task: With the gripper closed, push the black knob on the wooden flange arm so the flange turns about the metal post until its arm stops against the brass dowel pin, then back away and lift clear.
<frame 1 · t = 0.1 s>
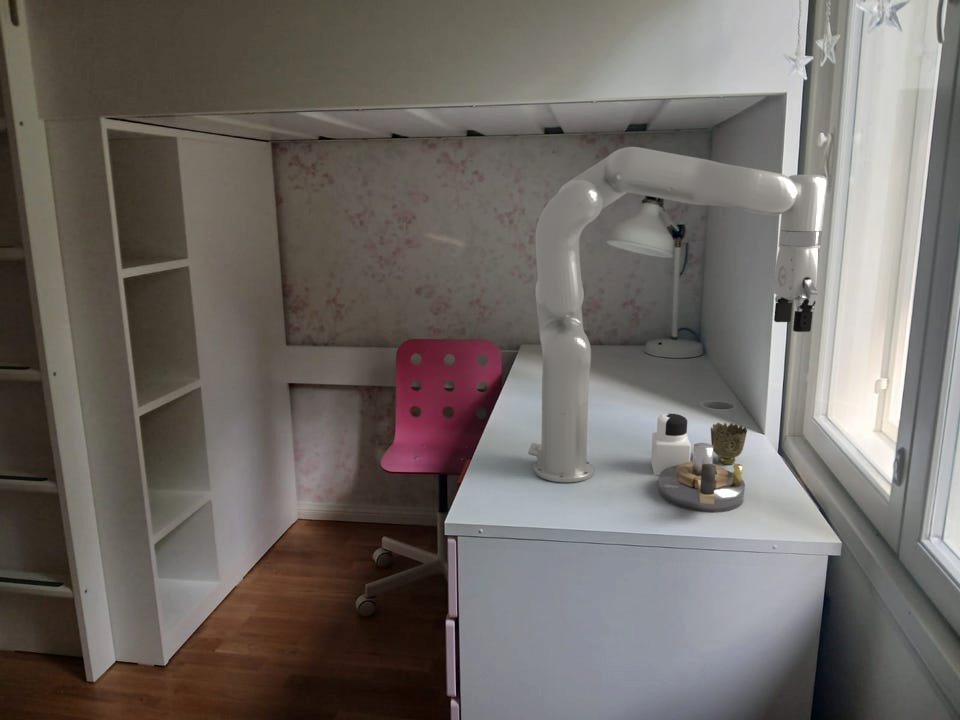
hand: (791, 326, 145), 31 cm above the table, tool pointing down, fingers open, 9 cm apart
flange: (704, 469, 137), point 7 cm above the table, hinge at 0.0°
post base: (700, 494, 142), on the table
cup: (725, 463, 158), on the table
medicine bottle: (669, 470, 154), on the table
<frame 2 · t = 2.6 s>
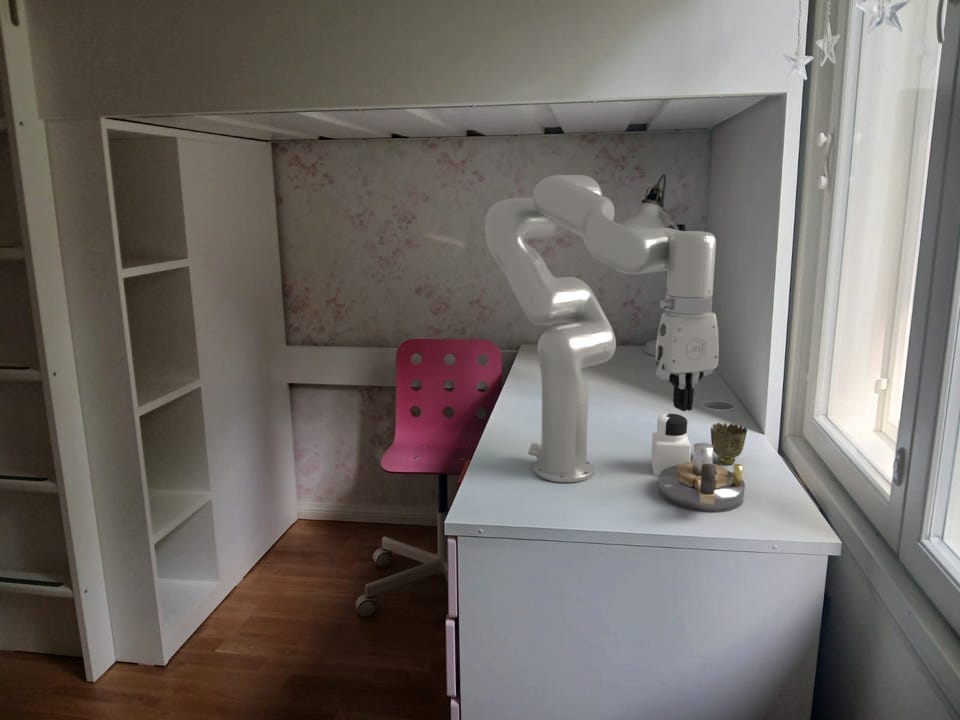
hand: (682, 408, 127), 21 cm above the table, tool pointing down, fingers closed
nothing on the table moved.
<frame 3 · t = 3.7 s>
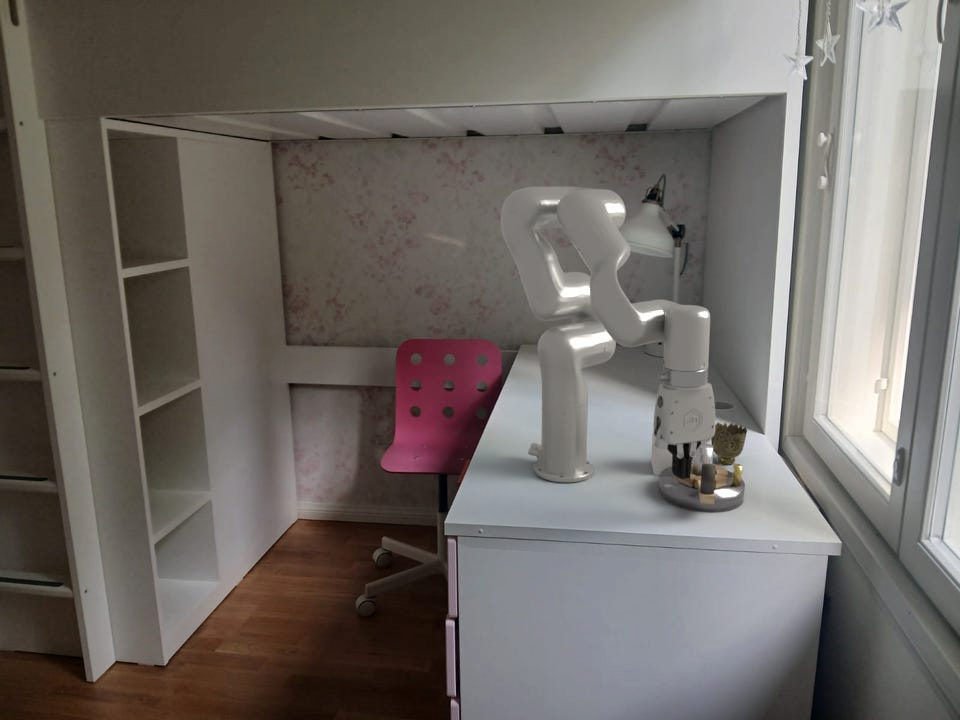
hand: (681, 476, 130), 8 cm above the table, tool pointing down, fingers closed
nothing on the table moved.
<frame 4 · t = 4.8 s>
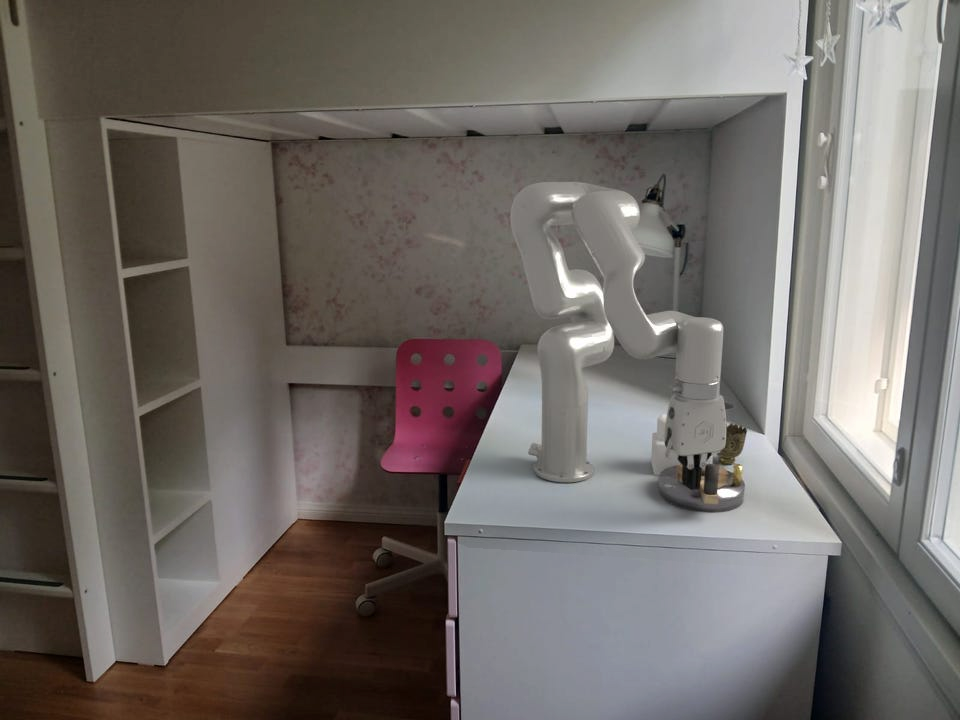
hand: (691, 486, 131), 6 cm above the table, tool pointing down, fingers closed
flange: (705, 469, 137), point 7 cm above the table, hinge at 3.4°, touching gripper
everything else where it was.
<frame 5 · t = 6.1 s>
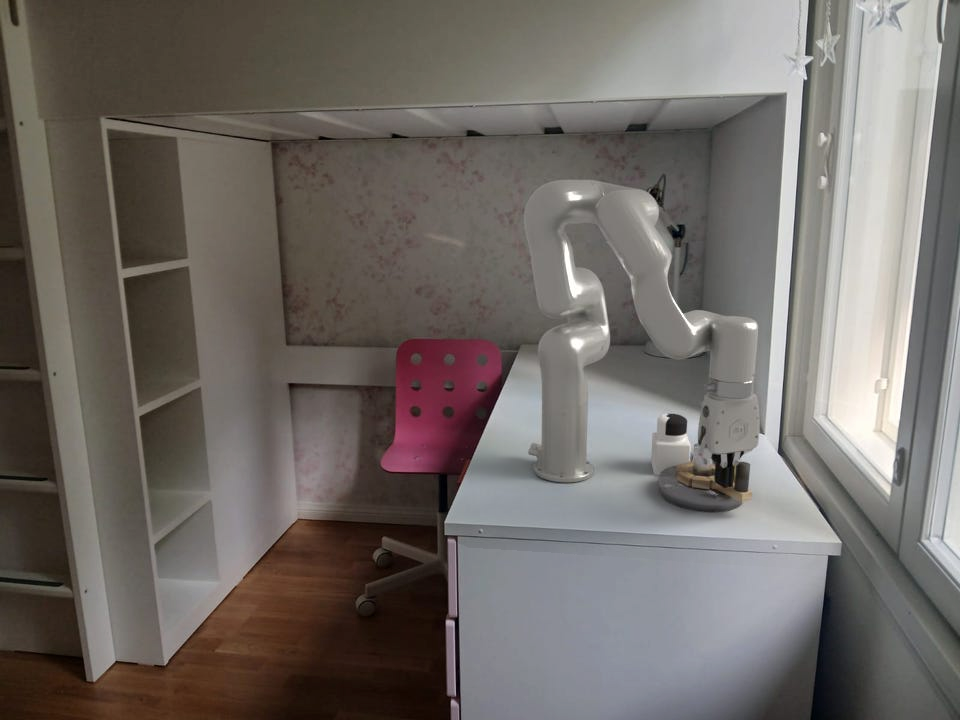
hand: (723, 484, 131), 6 cm above the table, tool pointing down, fingers closed
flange: (715, 468, 138), point 7 cm above the table, hinge at 38.1°, touching gripper
everything else where it was.
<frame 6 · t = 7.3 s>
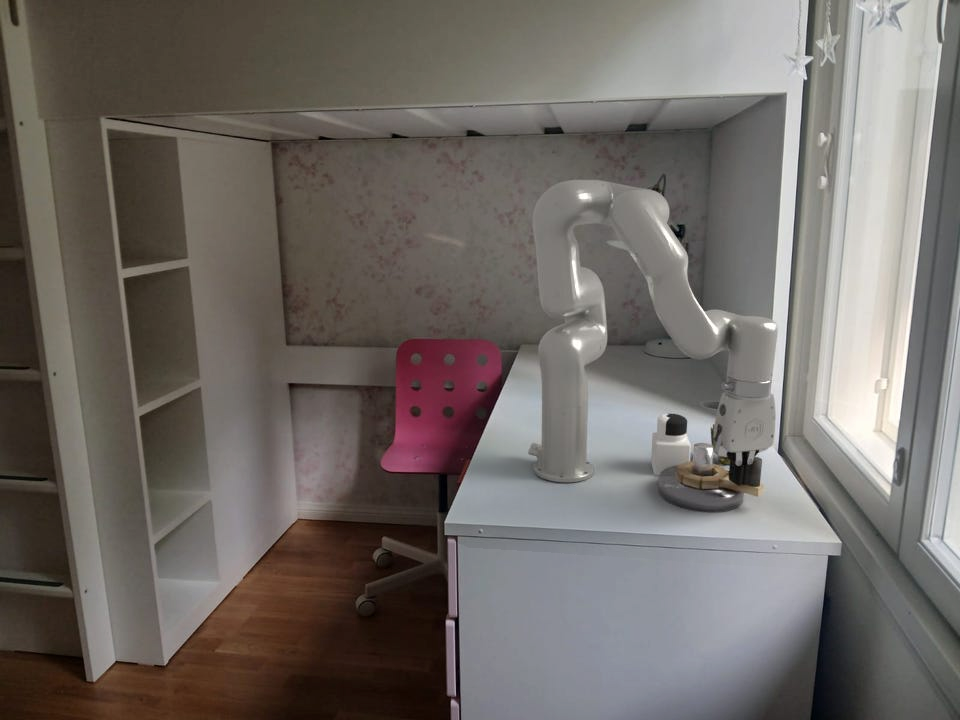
hand: (737, 482, 133), 6 cm above the table, tool pointing down, fingers closed
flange: (719, 466, 138), point 7 cm above the table, hinge at 60.1°, touching gripper, post base
everything else where it was.
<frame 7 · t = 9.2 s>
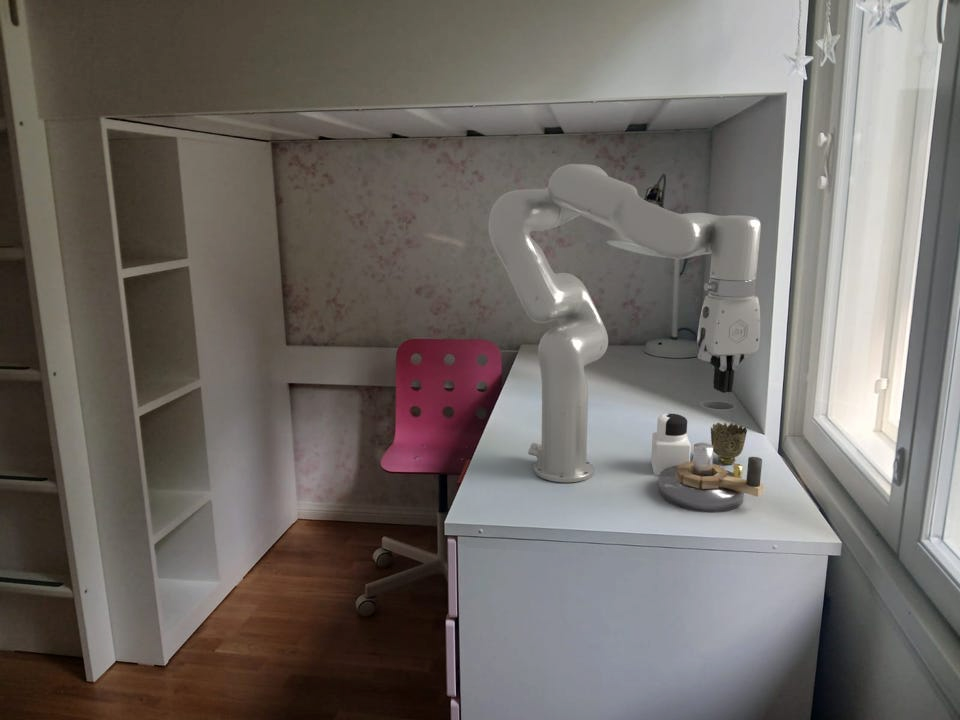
hand: (722, 390, 130), 23 cm above the table, tool pointing down, fingers closed
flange: (719, 466, 138), point 7 cm above the table, hinge at 60.1°, touching post base
everything else where it was.
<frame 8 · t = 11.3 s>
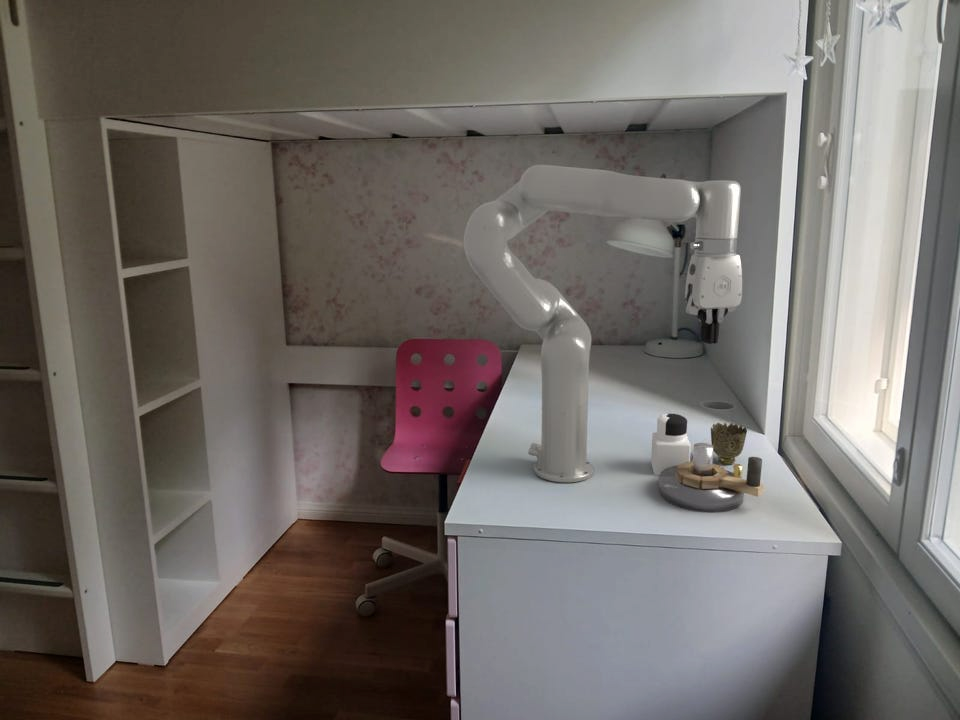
hand: (709, 342, 141), 29 cm above the table, tool pointing down, fingers closed
nothing on the table moved.
at the end: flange at +60° (first picture: +0°) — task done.
